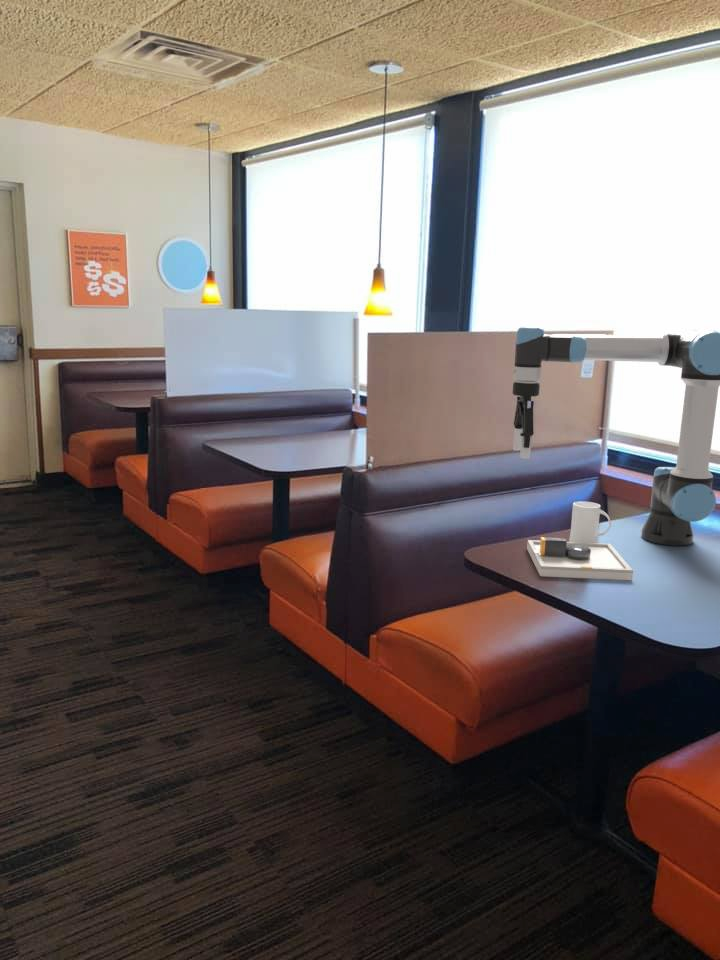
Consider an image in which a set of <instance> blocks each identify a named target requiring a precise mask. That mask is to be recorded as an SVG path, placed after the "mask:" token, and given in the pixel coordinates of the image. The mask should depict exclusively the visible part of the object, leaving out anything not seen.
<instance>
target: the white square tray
mask: <svg viewBox="0 0 720 960" xmlns="http://www.w3.org/2000/svg"><path fill="white" fill-rule="evenodd" d="M540 541H541V540H540V539H539V540H538V539H537V540H535V539H533V540H532V539H527V542H526V543H527V544H526V545H527V546H526V549H527V552H528V554H529V557H530V558H531V560H532V562H533V564H534V566H535V568H536V570H537V573H538V574H539V576H540V577H546V578H547V577H551V578H570V579H571V578H574V579H591V580H592V579H595V580H611V581H612V580H613V581H614V580H615V581H616V580H617V581H618V580H620V581H633V577H634V576H633V575H634V574H633V573H634V570H633V568H632V567H631V566H630V565H629V564H628V563H627V561H626V560H625V559H624V558H623V557H622V555H620V554H619V552H618V551H617V550H616V549H615V548H614V546H613V545H612V544H611V543H605V542H598V543H586V542H570V541H567V544H566V546H567V545H582V546H586V547H588V548H590V549H591V554H590V558H588V559H574V558H569V557H567V556H550V555H541V554H540Z"/></svg>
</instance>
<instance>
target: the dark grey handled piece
mask: <svg viewBox="0 0 720 960" xmlns="http://www.w3.org/2000/svg"><path fill="white" fill-rule="evenodd" d="M539 541H540V554H541V555H550V556H567V557H569V558H574V559H588V558H590V554H591V549H590V548H588V547H586V546H582V545H567V546H566V544H567V542H568V541H567V539H566V538H562V537H543V536H541V537H540V540H539Z"/></svg>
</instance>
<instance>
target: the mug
mask: <svg viewBox="0 0 720 960" xmlns="http://www.w3.org/2000/svg"><path fill="white" fill-rule="evenodd" d="M600 515H603V516H605V517H606V518H607V521H608V527H607V529H606V530H604V531H602V532H599V525H600ZM611 522H612V521H611V518H610V516H609V515H608V513H606V512H605V511H604V510H602V509H601V504H599V503H597V502H592V501H586V500H585V501H583V500H582V501H581V500H580V501H574V502H573V503H572V512H571V525H570V535H569V538H568V542H586V543H599V540H598V537H600V536H603V535H605V534H607V533H608V532H609V530H610V528H611V525H612V523H611Z"/></svg>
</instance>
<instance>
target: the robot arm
mask: <svg viewBox="0 0 720 960" xmlns="http://www.w3.org/2000/svg"><path fill="white" fill-rule="evenodd" d="M516 333H517V334H516V340H515V341H516V342H515V349H514V350H515V351H514V352H515V353H514V369H512V370H511V372H512V374H513V380H514V382H513V384H512V394H513V396H517V397H516V408H515V411H514V412H515V413H514V417H513V418H514V419H513V426H514V431H513V445H512V450H513V451H520V453H519V455H520V456H519V458H520V460H530V459H531V449H532V436H534V403H535V402H534V400H532V397H538V396H540V386H541V385H540V381H541V373H542V362H555V363H571V364H573V363H582V362H583V361H610V362H639V363H640V362H646V363H650V362H651V363H658V365H659V366H665V367H667V366H668V367H675V368H679V369H681V373H680V374H681V375H680V379H681V380H682V381H683V383H684V384H685V390H684V398H683V407H682V415H681V421H680V422H681V424H680V431H679V432H680V433H679V441H678V447H677V457H676V465H675V466H672V467H671V466H658V467H656V468H655V469H654V472H653V476H652V479H653V480H652V486H651V487H652V488H651V498H650V500H651V501H650V507H649V513H648V516H647V518H646V520H645V522H644V525H643V526H642V528H641V538H642V539H643V540H645V541H648V542H651V543H654V544H658V545H663V546H671V547H672V546H673V547H675V546H676V547H679V546H681V547H683V546H689V545H691V544H693V541H694V533H693V528H692V524H691V523H695V522H700V521H702V520H704V519H706V518H707V517H709V516H710V515H711V514H712V513H713V511H714V510H715V508H716V505H717V498H716V494H715V491H714V490H713V488H712V487H713V480H714V475H713V474H712V472H711V471H710V470H709V466H710V458H711V450H712V440H713V436H714V435H713V434H714V427H715V418H716V410H717V403H718V394H719V388H720V331H716V330H698V329H697V330H696V329H695V330H689V331H688V330H687V331H682V332H681V331H680V332H663V333H661V334H660V335H657V336H656V335H623V334H622V335H616V334H615V335H614V334H613V335H612V334H608V335H607V334H570V333H569V334H567V333H563V334H562V333H552V334H545V329H544V328H543V327H532V326H531V327H529V326H527V327H526V326H521V327H519V328H518V329H517V332H516Z"/></svg>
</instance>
